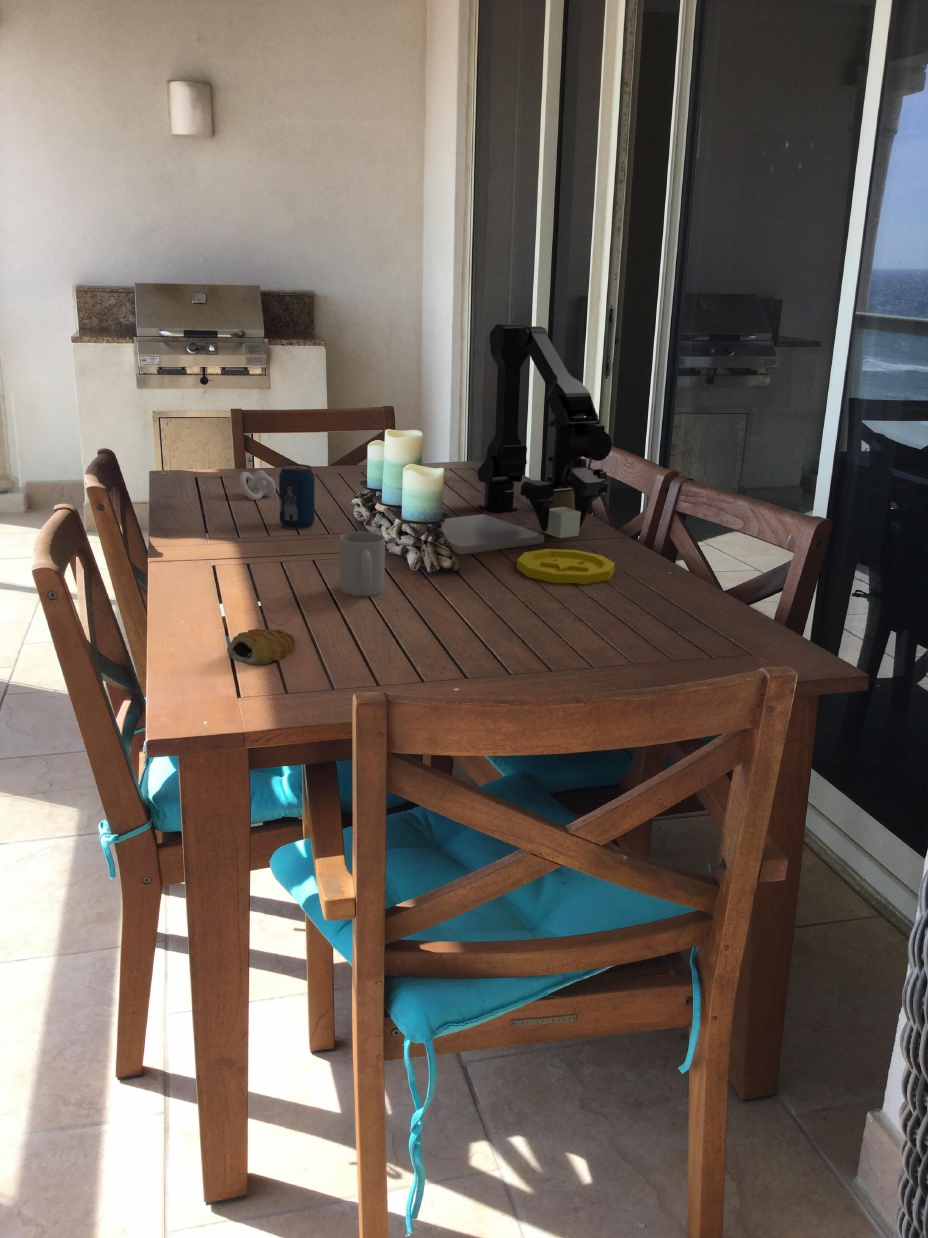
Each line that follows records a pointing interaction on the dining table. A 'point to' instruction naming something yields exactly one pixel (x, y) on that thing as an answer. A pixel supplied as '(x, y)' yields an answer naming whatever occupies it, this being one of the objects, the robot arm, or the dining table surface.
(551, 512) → the sage cube
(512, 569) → the dining table surface
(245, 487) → the knot
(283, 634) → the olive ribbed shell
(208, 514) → the dining table surface
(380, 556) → the cup
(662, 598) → the dining table surface
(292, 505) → the soda can
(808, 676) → the dining table surface
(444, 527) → the grey tile
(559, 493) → the cork
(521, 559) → the decorative disc
